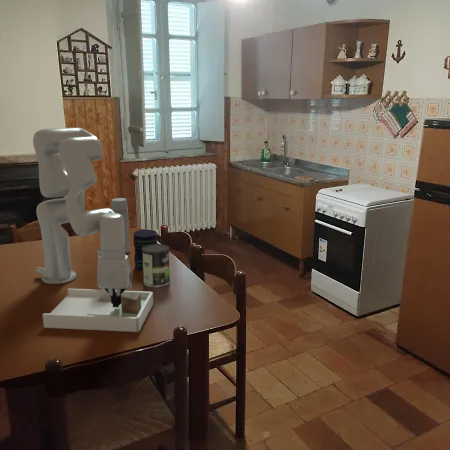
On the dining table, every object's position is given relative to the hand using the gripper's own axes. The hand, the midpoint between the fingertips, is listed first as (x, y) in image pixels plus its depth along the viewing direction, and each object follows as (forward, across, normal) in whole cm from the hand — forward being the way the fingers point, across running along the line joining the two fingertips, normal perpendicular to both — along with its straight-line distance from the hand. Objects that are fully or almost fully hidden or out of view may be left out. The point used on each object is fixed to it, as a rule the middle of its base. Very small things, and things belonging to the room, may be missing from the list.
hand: (116, 305), depth 145 cm
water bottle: (+4, -18, +61) cm, 63 cm away
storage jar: (+4, -2, +45) cm, 45 cm away
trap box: (+4, -5, 0) cm, 6 cm away
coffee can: (+4, +7, +29) cm, 30 cm away
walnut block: (+1, +5, 0) cm, 5 cm away
